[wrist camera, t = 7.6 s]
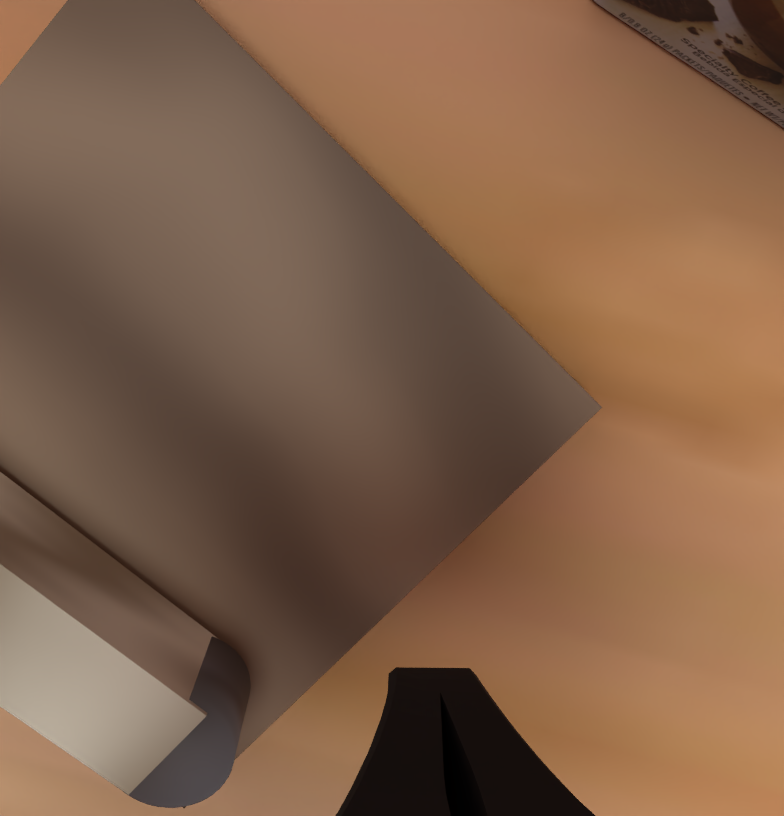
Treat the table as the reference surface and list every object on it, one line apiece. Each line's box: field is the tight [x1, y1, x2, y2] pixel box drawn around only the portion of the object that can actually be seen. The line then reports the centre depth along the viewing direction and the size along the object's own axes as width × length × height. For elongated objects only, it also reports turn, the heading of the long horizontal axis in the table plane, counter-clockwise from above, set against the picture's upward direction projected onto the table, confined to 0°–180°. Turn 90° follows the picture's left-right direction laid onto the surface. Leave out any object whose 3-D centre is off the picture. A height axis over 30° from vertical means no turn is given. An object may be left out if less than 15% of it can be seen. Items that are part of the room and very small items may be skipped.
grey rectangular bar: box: [0, 472, 251, 808], centre depth 17 cm, size 12×3×3 cm, turn 47°
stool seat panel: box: [0, 0, 602, 808], centre depth 18 cm, size 16×15×4 cm
